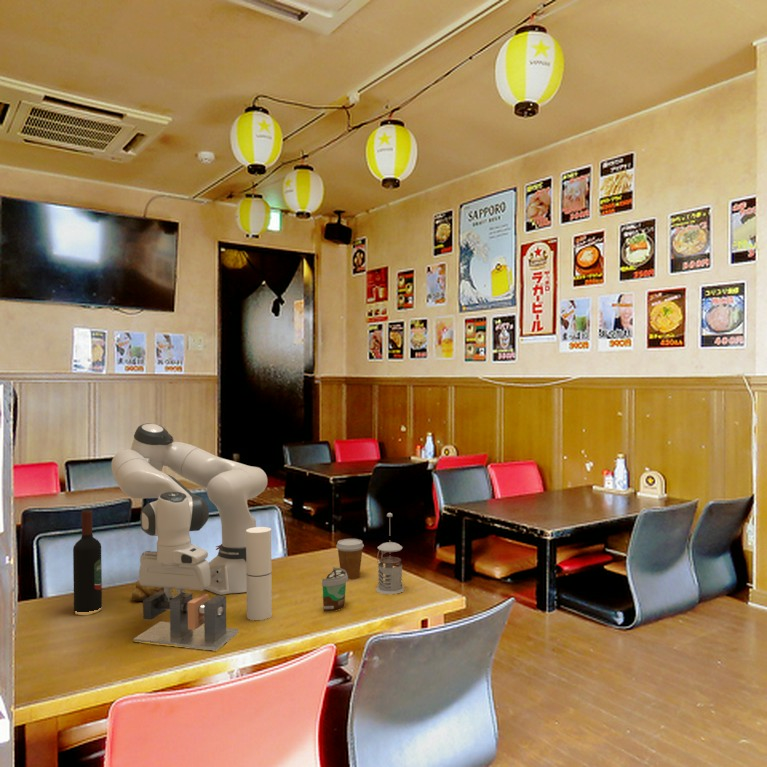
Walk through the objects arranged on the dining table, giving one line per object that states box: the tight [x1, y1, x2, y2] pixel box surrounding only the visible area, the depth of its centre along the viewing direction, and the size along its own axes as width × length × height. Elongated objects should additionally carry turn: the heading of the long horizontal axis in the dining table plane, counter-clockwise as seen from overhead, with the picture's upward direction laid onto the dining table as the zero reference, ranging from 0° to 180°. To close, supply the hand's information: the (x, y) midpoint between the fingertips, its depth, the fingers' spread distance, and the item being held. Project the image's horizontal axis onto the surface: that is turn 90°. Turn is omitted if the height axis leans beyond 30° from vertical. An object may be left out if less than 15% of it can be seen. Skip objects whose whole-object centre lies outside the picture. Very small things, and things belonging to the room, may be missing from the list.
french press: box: [375, 512, 405, 595], centre depth 203 cm, size 10×12×25 cm
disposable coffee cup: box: [335, 538, 365, 580], centre depth 216 cm, size 10×10×12 cm
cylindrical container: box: [246, 526, 273, 621], centre depth 181 cm, size 7×7×25 cm
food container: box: [321, 567, 349, 613], centre depth 188 cm, size 12×6×10 cm, turn 168°
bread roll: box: [131, 579, 164, 602], centre depth 197 cm, size 13×10×8 cm
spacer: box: [188, 593, 210, 630], centre depth 165 cm, size 2×7×7 cm, turn 166°
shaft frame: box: [132, 592, 240, 652], centre depth 166 cm, size 24×12×11 cm, turn 76°
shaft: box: [142, 590, 223, 621], centre depth 166 cm, size 21×8×5 cm, turn 76°
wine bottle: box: [72, 509, 103, 612], centre depth 186 cm, size 8×8×30 cm
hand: (174, 603), depth 170 cm, fingers closed
